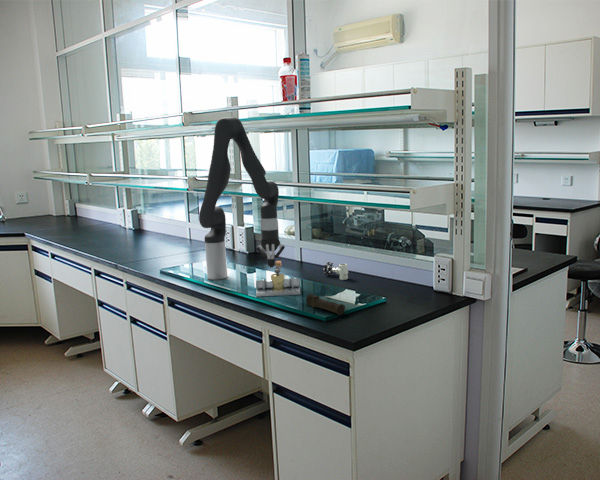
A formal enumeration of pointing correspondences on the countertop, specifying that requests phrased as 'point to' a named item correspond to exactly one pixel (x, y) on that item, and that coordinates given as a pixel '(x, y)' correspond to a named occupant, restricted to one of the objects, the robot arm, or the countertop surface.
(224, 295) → the countertop surface
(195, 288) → the countertop surface
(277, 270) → the valve lever
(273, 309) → the countertop surface
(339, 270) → the valve
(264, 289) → the valve manifold
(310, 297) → the hand tool
